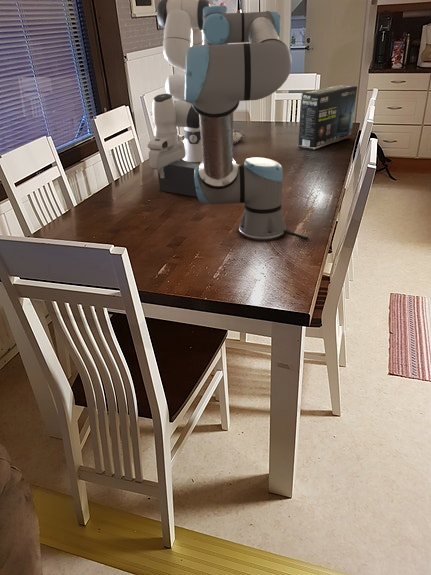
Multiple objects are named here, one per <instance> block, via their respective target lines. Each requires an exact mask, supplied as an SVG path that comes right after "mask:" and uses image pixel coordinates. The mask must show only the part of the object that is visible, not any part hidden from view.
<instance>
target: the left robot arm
mask: <svg viewBox="0 0 431 575" xmlns="http://www.w3.org/2000/svg"><path fill="white" fill-rule="evenodd" d="M206 6H211V3H210V2H209V1H208V0H160V1H159V2H158V4H157V7H156V18H157V19H156V20H157V23H158V25H159V26H160V27H161V29H163V40H162V52H163V57H164V59H165V61H166V62H167V63H168V64H169V65H170V66H171V67H174V68H175V69H178V70H180V71H182V72H177V73H174V74H171V75H168V77H167V78H166V80H165V84H164V88H165V93H160V94H157V95H155V96H154V97H153V99H152V120H153V123H154V135H153V137H152V138H151V139H149V141H148V142H147V146H146V147H147V149H148V162H149V167H150V168H151V169H152V170H157V173H158V172H159V173H160V178H165V177H166V173H164V171H163V170H164V167H165V166H167V165H168V164H171V163H173V162H175V161H181V160H182V161H183V162H189V163H201V162H202V160H203V156H202V144H201V133H200V121H199V114H198V113H197V112H196V111H195V110H194V108H193V106H192V104H190V103H187V102H186V101H185V62H186V52H187V50H188V49H189V48H190V47H192V46H199V45H203V44H204V35H203V31H202V25H203V8H204V7H206ZM178 128H183V137H182V136H181V135H180V134H178Z"/></svg>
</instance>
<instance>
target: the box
mask: <svg viewBox="0 0 431 575" xmlns="http://www.w3.org/2000/svg"><path fill="white" fill-rule="evenodd" d="M197 166H200V163H198V162H187V161H183V160H180V161H175V162H173V163H171V164H168V165H167V166H165V167H164V170H163V171H164V173H166V177H165V178H160V173H159V172H158V171H157V176H158V183H159V184H158V186H159V191H160V192H166V193H173V194H179V195H184V196H190V197H196V198H198V197H197V193H196V187H195V178H194V172H195V168H196V167H197Z"/></svg>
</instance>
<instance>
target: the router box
mask: <svg viewBox="0 0 431 575" xmlns="http://www.w3.org/2000/svg"><path fill="white" fill-rule="evenodd" d="M357 93H358V86H356V85H350V84H339V85H338V84H337V85H334V86H328V87H324V88H318V89H314V90H309V91H304V92H301V93H300V109H299V110H300V111H299V124H298V137H297V146H298V145H302V146H307V147H317V146H320V145H323V144H325V143H328V142H331V141H333V140H336V139H338V138H341V137H344V136H347V135H351V136H352V133H353V132H352V131H353V125H354V115H355V109H356V99H357ZM311 151H313V150H312V149H311Z"/></svg>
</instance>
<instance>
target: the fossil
mask: <svg viewBox="0 0 431 575" xmlns="http://www.w3.org/2000/svg"><path fill="white" fill-rule="evenodd" d="M245 134H246V133H245V132H244V131H242V130H241V129H235V128H234V127H233V145H236V143H235V142H237V143H239V142H240V141H241V140H242V139H243V138H242V136H245V137H246V135H245ZM239 140H240V141H239ZM238 141H239V142H238Z"/></svg>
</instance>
